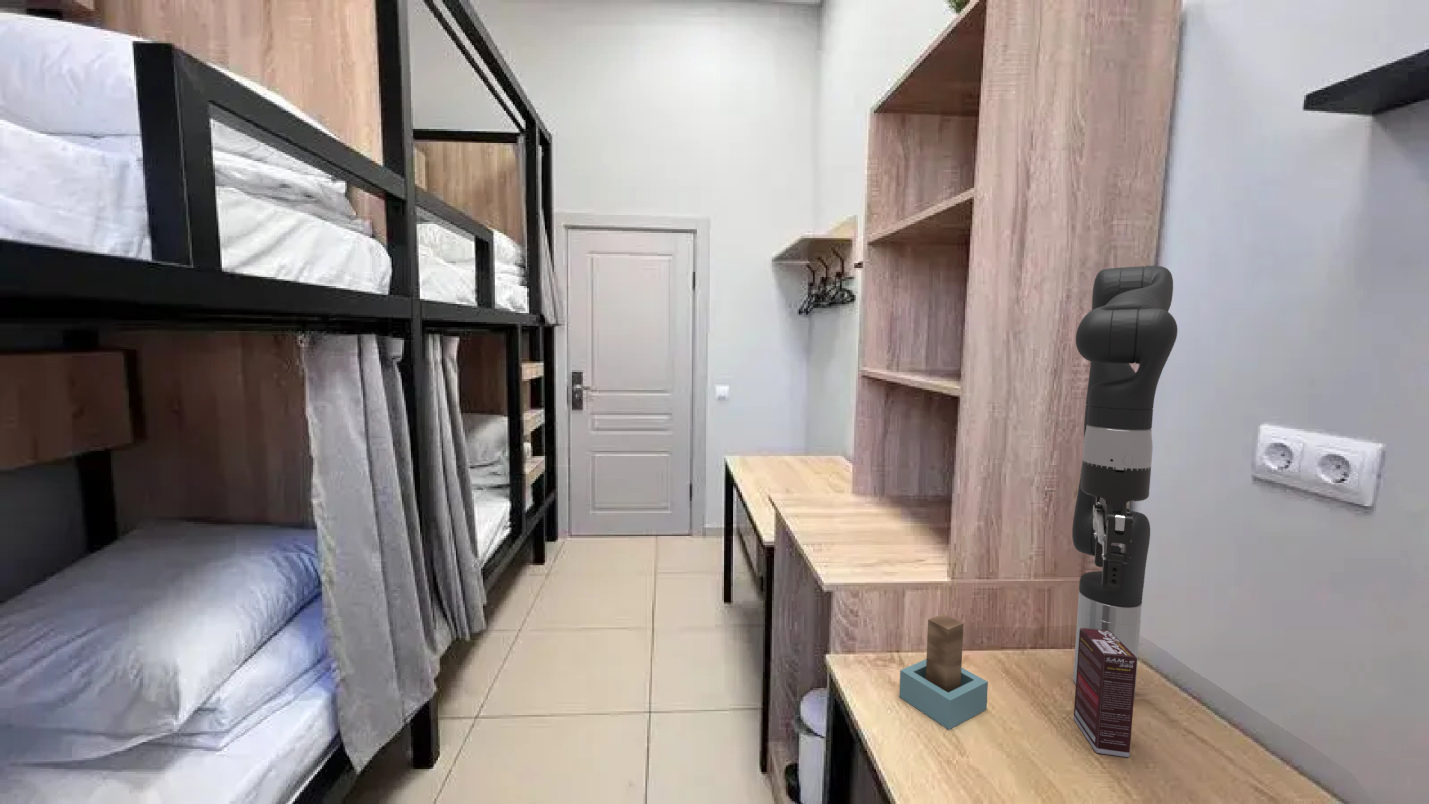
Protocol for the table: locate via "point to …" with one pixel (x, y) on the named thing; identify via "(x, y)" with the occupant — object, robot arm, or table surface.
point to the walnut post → (944, 652)
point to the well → (943, 696)
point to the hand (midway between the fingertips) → (1107, 577)
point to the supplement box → (1105, 691)
